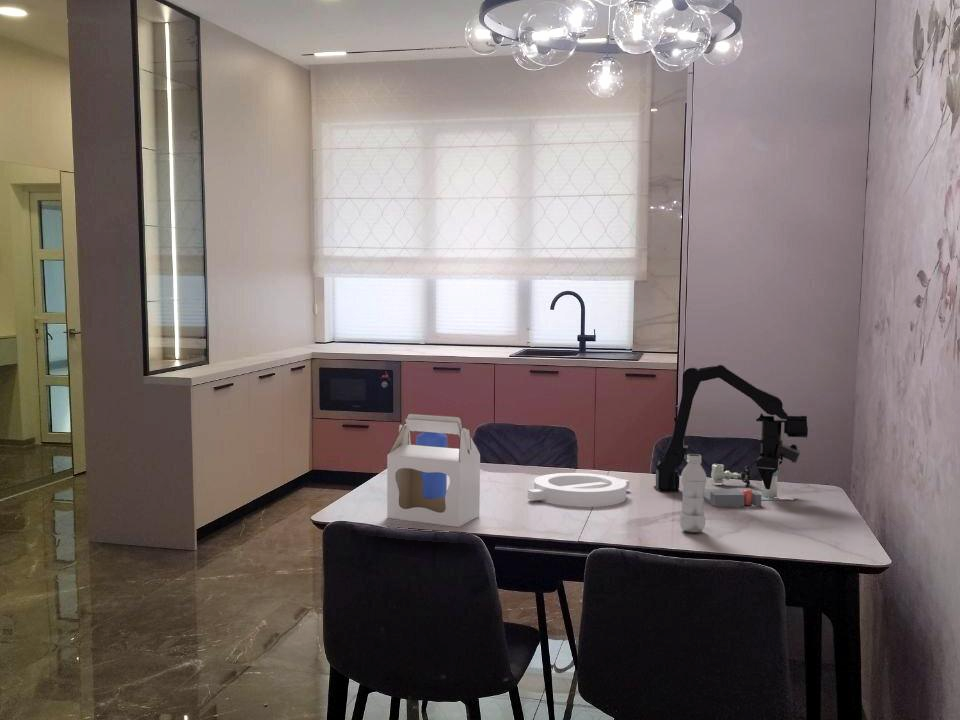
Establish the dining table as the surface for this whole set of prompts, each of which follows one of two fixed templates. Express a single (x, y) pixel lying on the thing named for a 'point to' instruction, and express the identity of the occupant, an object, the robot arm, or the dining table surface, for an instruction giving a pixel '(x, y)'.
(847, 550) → the dining table surface
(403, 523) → the dining table surface
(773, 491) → the cartridge
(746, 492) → the plunger button
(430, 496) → the water bottle
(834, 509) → the dining table surface
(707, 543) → the dining table surface
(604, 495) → the white circle with bar
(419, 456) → the gable box
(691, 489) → the plastic bottle
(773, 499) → the mat
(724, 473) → the valve
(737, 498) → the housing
